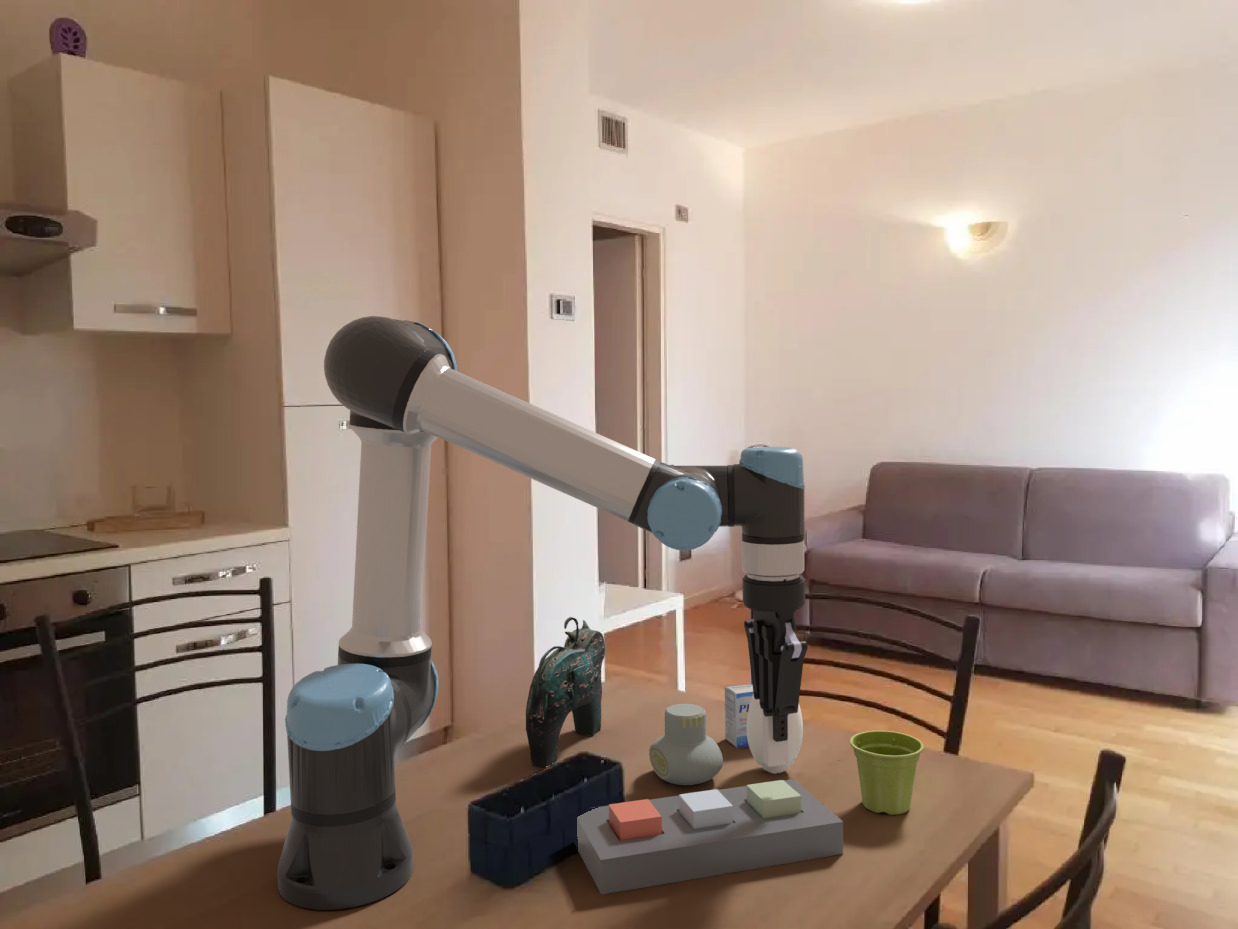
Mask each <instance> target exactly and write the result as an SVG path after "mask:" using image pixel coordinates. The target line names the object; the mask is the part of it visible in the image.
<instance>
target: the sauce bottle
mask: <svg viewBox="0 0 1238 929" xmlns="http://www.w3.org/2000/svg"><path fill="white" fill-rule="evenodd" d="M803 723H804V722H803V714H802V709H801V706H800V704H799V705H798V712H797V713H793V714H788V761H789V764H783V765H776V766H770V767H768V766H767V765H766V764H765V763H764V762H763V709H761V707H760V700H759V699H757V700H756V699H755V698H754V694H753V696H752V699H751V702H750V706H749V710H748V716H747V739H748V744H749V751H750V753H751V754H752V757H753V758H754V761H755V762H756V763H757V765H759V766H760V767H761V768H762V769H763V770H764V771H766V772H768V773H770V774H775V775H777V773H778V774H781V773H783V772H784V771H785V772H786V770H787V769H788V768H789V767H791V766H792V765H793V764H795V761H796V760H797V758H798V757H799V756H798V755H799V753H800V751H801V747H802V745H803V734H804V725H803Z"/></svg>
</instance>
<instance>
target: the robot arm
mask: <svg viewBox="0 0 1238 929" xmlns="http://www.w3.org/2000/svg"><path fill="white" fill-rule="evenodd" d="M323 371H324V377H325V380H326V383H327V386H328V388H329V390H330V392H331V393H332V395H333V396H334V397H335V399H336V400H337V402H339V404H341V405H342V406H343V407H344V408H346V409H347V410H348V411H349V429H351V430H352V431H353V433H355V435H356V436H357V437H358V438H359V440H360V442H361V443H360V444H361V445H360V463H359V485H358V500H357V501H358V503H357V519H356V520H357V525H356V541H355V542H356V543H355V558H354V559H355V562H354V580H353V581H354V582H353V583H354V584H353V603H352V622H351V628H350V629H349V630H348V631H347V632H346V633H344V635H342V636H341V637H340V638H339V640H338V648H337V649H338V652H337V653H338V654H337V664H336V665H332V666H331V665H330V666H327V667H325V668H324V669H323V670H315V671H313V672H311V673H308V675H306V676H304V677H302V678H301V679H300V680H299V681H297V682H296V683H295V684H294V685H293V686H292V688H291V690H290V691H289V693H288V696H287V699H286V715H285V719H284V720H285V721H284V722H285V723H284V724H285V730H286V739H287V741H286V742H287V753H288V754H287V757H288V759H287V760H288V775H289V794H290V795H289V796H290V798H289V799H290V814H291V816H290V817H291V818H290V822H289V825H288V826H289V827H288V830H287V833H286V836H285V841H284V843H283V847H282V849H281V853H280V856H279V861H278V864H277V871H276V872H277V889H278V893H279V895H280V896H281V897H282V898H283V899H284V901H286V902H288V903H289V904H292V905H294V906H296V907H299V908H303V909H310V910H315V911H316V910H318V911H319V910H321V911H331V910H332V911H333V910H335V911H336V910H344V909H345V910H346V909H351V908H355V907H359V906H364V905H367V904H371V903H373V902H376V901H379V900H381V899H384V898H386V897H388V896H389V895H391V894H393V893H396V891H398V890H399V889H401V888H402V887H403V886H404V885H405V884H406V883H407V882H408V881H409V879H410V878H411V876H412V874H413V872H414V850H413V845H412V842H411V839H410V837H409V834H408V832H407V829H406V827H405V823H404V822H403V819H402V816H401V814H400V811H399V809H398V806H397V797H396V766H395V764H396V762H395V757H396V756H395V755H396V754H397V752H398V751H399V750H400V749H401V748H402V747H403V746H404V745H405V744H406V743H407V742H408V741H409V739H410V738H412V736H413V735H414V734H415V732H417V731H418V730H419V728H421V727H422V726H424V724H425V722H426V721H427V719H428V718H429V716H430V715H431V713H432V709H433V708H434V706H435V704H436V701H437V698H438V694H439V674H438V671H437V668H436V665H435V664H434V661H433V660H432V646H433V645H432V644H433V643H432V639H431V638H430V637H429V635H427V634H426V633H425V631H423V629H422V613H423V612H422V611H423V596H424V593H423V592H424V581H425V580H424V577H425V561H426V543H427V529H428V528H427V526H428V512H429V511H428V510H429V509H428V508H429V505H428V504H429V494H430V493H429V491H430V473H431V472H430V471H431V459H432V458H431V456H432V455H431V454H432V445H433V443H434V442H436V440H437V439H441V440H443V441H444V442H445V441H446V442H448V443H450V444H452V445H454V446H457V447H460V448H461V449H464V450H465V451H468V452H470V453H472V454H475V455H477V456H480V457H481V458H484V459H486V460H487V461H491V462H493V463H495V464H496V465H497V464H498V465H500V466H502V467H504V468H507V469H509V470H511V471H513V472H515V473H518V474H520V475H522V476H524V477H527V478H529V479H531V480H533V481H536V482H538V483H540V484H543V485H545V486H547V487H549V488H552V489H554V490H556V491H558V492H560V493H563V494H565V495H568V496H569V497H572V498H574V499H577V500H579V501H581V502H583V503H585V504H587V505H590V506H592V507H595V508H597V509H599V510H601V511H604V512H606V513H608V514H611V515H612V516H615V517H617V518H620V519H621V520H624V521H626V522H627V523H628V522H629V523H630V524H633V525H634V526H635V527H638V528H640V529H643V530H644V531H647V532H649V533H651V534H653V536H654V537H655V538H656V539H658V541H659V542H660V543H662V544H663V545H664V546H666V547H668V548H670V549H673V550H676V551H692V550H695V549H697V548H700V547H702V546H705V544H707V543H708V541H710V540H711V538H713V536H714V534H715V533H716V532H717V531H718V529H719V528H723V527H730V528H732V527H733V528H735V527H741V539H740V540H741V541H740V543H741V546H740V547H741V571H742V572H743V573H744V574H745V575H744V577H742V603H743V605H744V606H745V607H746V608H747V609H749V610H752V612H753V613H752V619H750V620H749V619H747V620H744V623H743V627H744V630H745V635H746V639H747V645H748V646H747V647H748V648H747V649H748V655H749V657H748V658H749V665H750V666H749V667H750V675H751V684H752V685H753V694H754V698H755V699H756V700H757V699H759V700H760V707H761V709H763V762H764V763H765V764H766V765H767V766H768V767H770V766H776V765H783V764H789V761H788V714H793V713H797V712H798V705H800V693H801V686H802V679H803V678H802V676H803V668H804V660H805V657H806V654H807V651H808V643H807V642H806V641H805V640H801V641H800V640H799V639H798V637H797V624H796V618H795V613H796V612H797V610H801V609H802V608H803V607H804V606H805V605H806V578H804V576H803V575H802V574H803V572H804V571H805V552H807V546H806V545H805V488H806V485H805V481H804V480H805V478H804V476H805V475H804V463H803V461H804V460H803V455H802V453H801V452H800V451H799V450H797V449H796V448H794V447H788V446H787V447H786V446H761V447H758V446H757V447H756V446H755V447H748V448H744V449H742V451H741V452H740V459H739V461H738V463H737V464H736V463H734V464H727V465H674V464H667V463H665V462H661V461H659V460H657V459H656V458H654V457H651V456H649V455H647V454H645V453H643V452H640V451H638V450H636V449H633V448H631V447H629V446H627V445H624V444H622V443H620V442H617V441H615V440H614V439H611V438H608V437H606V436H604V435H602V434H599V433H597V432H594V431H592V430H590V429H588V428H586V427H584V426H582V425H579V424H577V423H575V422H572V421H570V420H568V419H565V418H564V417H561V416H560V415H559V416H558V415H556V414H554V413H552V412H550V411H547V410H545V409H543V408H540V407H538V406H536V405H534V404H532V403H529V402H527V401H525V400H523V399H521V398H518V397H517V396H514V395H511V394H509V393H507V392H505V391H502V390H500V389H498V388H496V387H493V386H491V385H489V384H486V383H484V382H482V381H480V380H477V379H476V378H473V377H471V376H469V375H467V374H464V373H462V372H460V371H458V365H457V360H456V358H455V354H454V352H453V350H452V348H451V347H450V345H449V344H448V342H447V341H446V340H445V339H444V338H443V337H442V336H441V334H439V333H438V332H436V331H435V330H434V329H432V328H430V327H429V326H427V325H425V324H423V323H420V322H415V321H410V320H408V319H405V320H401V319H394V318H390V317H385V316H377V315H375V316H374V315H371V316H363V317H359V318H357V319H354V320H352V321H350V322H348V323H346V324H345V325H343V326H342V327H341V328H340V329H339V330H338V331H337V332H336V333H335V334H334V336H333V337H332V338H331V339H330V341H329V343H328V345H327V348H326V350H325V355H324V360H323Z"/></svg>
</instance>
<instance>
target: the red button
mask: <svg viewBox="0 0 1238 929" xmlns="http://www.w3.org/2000/svg"><path fill="white" fill-rule="evenodd" d="M649 800H650V799H649V798H645V799H638V800H632V801H625V802H624V801H623V802H618V803H610V804H608V806H609V826H610V827H611V829H612V830H613V832H614V834H615V835H616V837H617V838H618V840H619V841H620V840H627V839H633V838H640V837H646V836H653V835H660V834H662V816H661V815H660V814H659V812H658V811H657V810H656V808H655V807H654V806H653V805H652V803H651V802H650V801H649Z"/></svg>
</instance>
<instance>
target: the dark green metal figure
mask: <svg viewBox="0 0 1238 929" xmlns="http://www.w3.org/2000/svg"><path fill="white" fill-rule="evenodd" d="M571 621H573V622H574V623H575V625H576V626H575V628H576V629H574V630H572V631H564V633H565V635H567V637H566V639H565V642H564V646H560V645H556V646H555V645H554V646H553V647H551V648H549V649H548V650H547V651H545V653H544V654H542V657H541V658H540V661H539V663H538V667H537V669H536V670H535V673H534V674H533V677H532V678H531V679H532V680H531V683H530V686H529V690H528V697H527V701H526V706H525V731H526V737H527V743H528V746H529V754H530V755H529V756H530V764H531V765H532V766H533V765H534V766H533V767H538V766H539V767H540V768H543V767H546V766H549V765H552V763H554V762H555V763H557V760H558V747H559V740H560V734H561V731H562V729H563V726H564V724H565V720H566V719H567V716H568V715H569V714H570V713H572V719H573V725H574V731H575V733H576V734H578V735H582V736H591V737H593V736H594V735H595V733H596V734H597V732H599V731H601V728H602V696H603V685H602V683H603V682H602V666H603V662H604V659H605V657H606V656H605V655H606V644H605V637H604V634H603V633H602V632H601V631H598V630H595V629H594V630H593V629H591V628H590V626H589V625H588V624H587V622H586V621H585V620H584V619H583V620H582V625H581V626H582V627H581V628H579V621H578V620H577V618H576V617H574V616H573V617H572V616H569V617H568V618H566V619H565V620H564V623H563V628H564V629H565V630H566V629H567V627H568V625H569V622H571ZM555 763H554V764H555ZM552 766H553V765H552ZM539 767H538V768H539Z"/></svg>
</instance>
